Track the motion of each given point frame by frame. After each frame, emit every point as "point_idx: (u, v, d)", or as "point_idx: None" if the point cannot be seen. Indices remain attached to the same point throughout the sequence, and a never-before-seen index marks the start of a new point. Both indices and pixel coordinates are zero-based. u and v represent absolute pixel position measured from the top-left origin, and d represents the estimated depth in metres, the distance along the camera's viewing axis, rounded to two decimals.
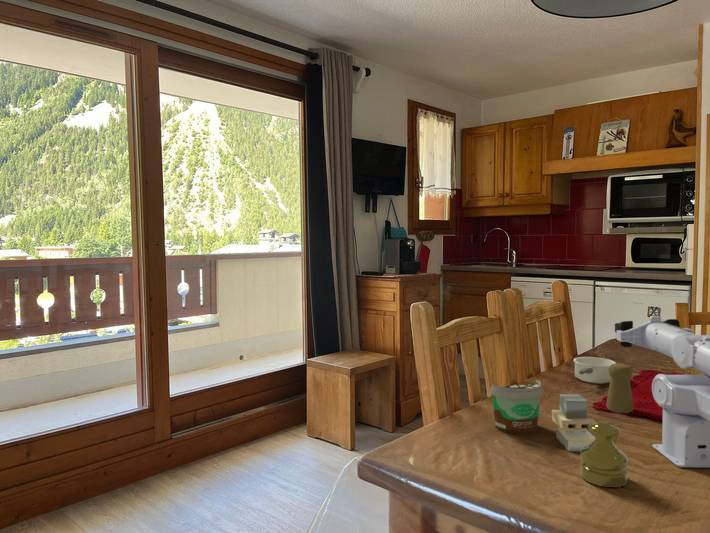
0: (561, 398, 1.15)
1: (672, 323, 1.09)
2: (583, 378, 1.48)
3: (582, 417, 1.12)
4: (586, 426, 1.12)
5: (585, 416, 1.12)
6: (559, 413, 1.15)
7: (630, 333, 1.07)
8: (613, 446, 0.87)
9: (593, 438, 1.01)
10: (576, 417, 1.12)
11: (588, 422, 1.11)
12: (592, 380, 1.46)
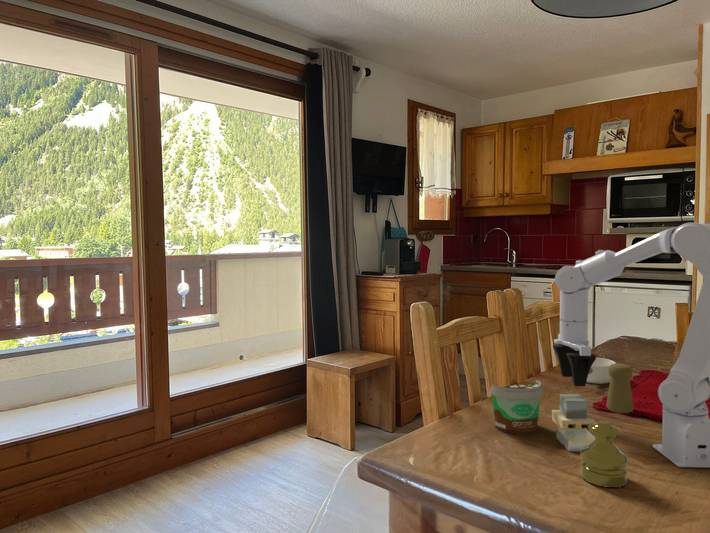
0: (561, 398, 1.15)
1: (557, 346, 1.18)
2: None
3: (582, 417, 1.12)
4: (586, 426, 1.12)
5: (585, 416, 1.12)
6: (559, 413, 1.15)
7: None
8: (613, 446, 0.87)
9: (593, 438, 1.01)
10: (576, 417, 1.12)
11: (588, 422, 1.11)
12: (592, 380, 1.46)
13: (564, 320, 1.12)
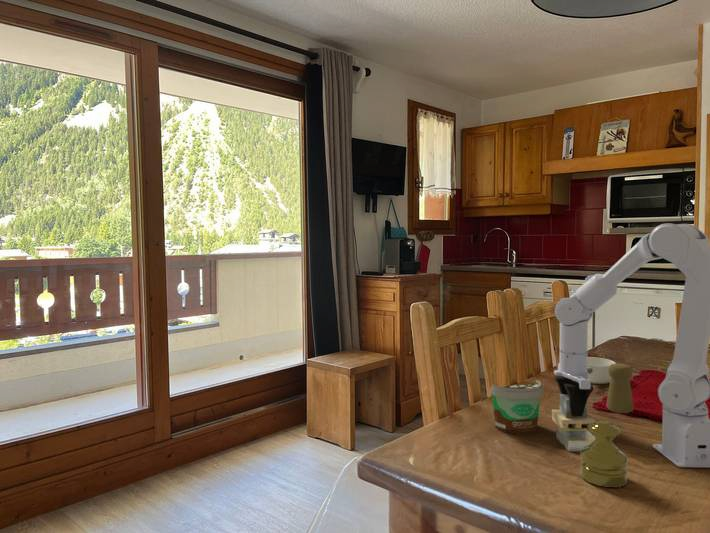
0: (561, 398, 1.15)
1: (559, 377, 1.17)
2: None
3: (582, 417, 1.12)
4: (586, 426, 1.12)
5: (585, 415, 1.12)
6: (559, 413, 1.15)
7: (579, 379, 1.09)
8: (613, 446, 0.87)
9: (593, 438, 1.01)
10: (576, 417, 1.12)
11: (588, 422, 1.11)
12: (592, 380, 1.46)
13: (564, 352, 1.12)
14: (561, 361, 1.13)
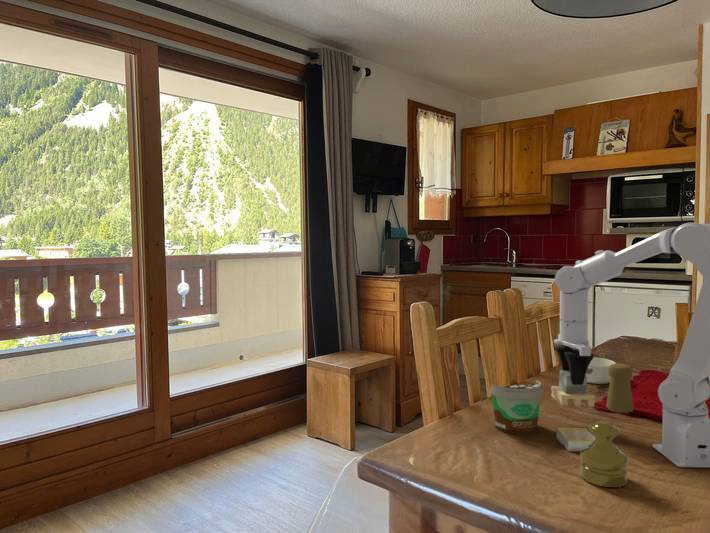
0: (561, 374, 1.15)
1: (559, 347, 1.17)
2: None
3: (582, 393, 1.12)
4: (585, 402, 1.12)
5: (584, 392, 1.12)
6: (559, 389, 1.15)
7: None
8: (613, 446, 0.87)
9: (593, 438, 1.01)
10: (576, 392, 1.12)
11: (588, 397, 1.10)
12: (592, 380, 1.46)
13: (564, 320, 1.12)
14: (561, 330, 1.13)
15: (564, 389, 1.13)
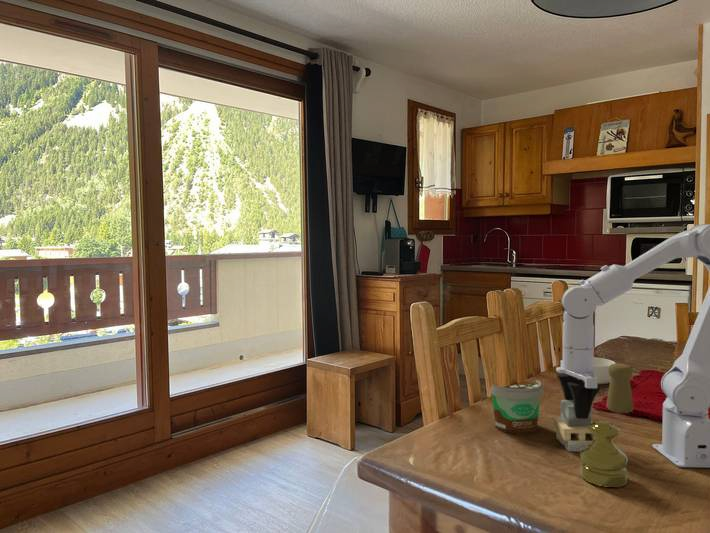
0: (563, 404, 1.04)
1: (562, 375, 1.06)
2: None
3: (586, 425, 1.01)
4: (590, 435, 1.01)
5: (589, 424, 1.01)
6: (560, 420, 1.05)
7: None
8: (613, 446, 0.87)
9: None
10: (579, 425, 1.01)
11: None
12: None
13: (567, 347, 1.01)
14: (564, 357, 1.02)
15: (566, 421, 1.02)
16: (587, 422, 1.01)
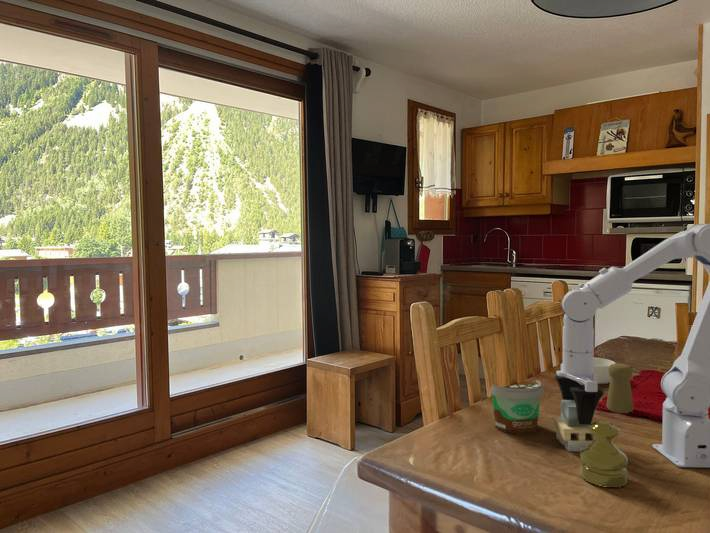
0: (563, 404, 1.04)
1: (560, 377, 1.08)
2: None
3: (586, 425, 1.01)
4: (590, 435, 1.01)
5: (589, 424, 1.01)
6: (560, 420, 1.05)
7: (584, 381, 0.98)
8: (613, 446, 0.87)
9: None
10: (579, 425, 1.01)
11: None
12: None
13: (567, 350, 1.01)
14: (564, 361, 1.02)
15: (566, 421, 1.02)
16: None
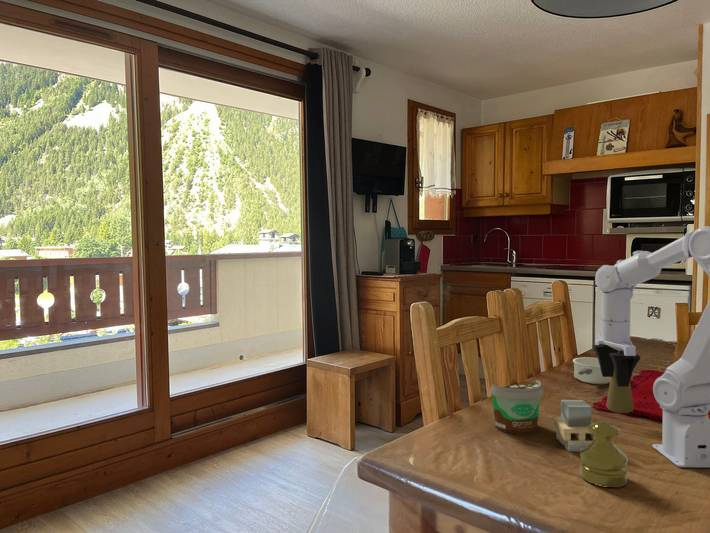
0: (563, 404, 1.04)
1: (597, 346, 1.18)
2: (582, 379, 1.47)
3: (586, 425, 1.01)
4: (590, 435, 1.01)
5: (589, 424, 1.01)
6: (560, 420, 1.05)
7: None
8: (613, 446, 0.87)
9: None
10: (579, 425, 1.01)
11: None
12: (591, 381, 1.45)
13: (606, 320, 1.11)
14: (603, 329, 1.12)
15: (566, 421, 1.02)
16: (587, 422, 1.01)
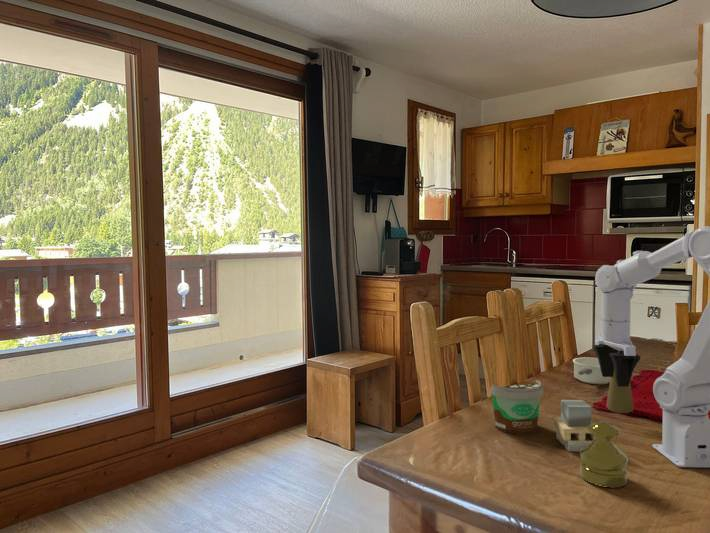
0: (563, 404, 1.04)
1: (597, 346, 1.18)
2: (582, 379, 1.47)
3: (586, 425, 1.01)
4: (590, 435, 1.01)
5: (589, 424, 1.01)
6: (560, 420, 1.05)
7: None
8: (613, 446, 0.87)
9: None
10: (579, 425, 1.01)
11: None
12: (591, 381, 1.45)
13: (606, 320, 1.11)
14: (603, 329, 1.12)
15: (566, 421, 1.02)
16: (587, 422, 1.01)
